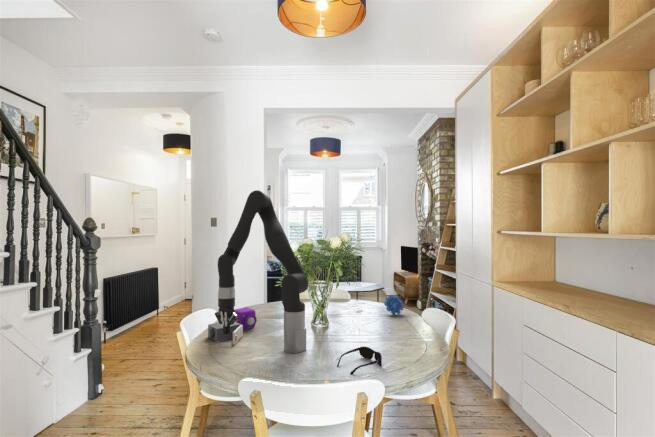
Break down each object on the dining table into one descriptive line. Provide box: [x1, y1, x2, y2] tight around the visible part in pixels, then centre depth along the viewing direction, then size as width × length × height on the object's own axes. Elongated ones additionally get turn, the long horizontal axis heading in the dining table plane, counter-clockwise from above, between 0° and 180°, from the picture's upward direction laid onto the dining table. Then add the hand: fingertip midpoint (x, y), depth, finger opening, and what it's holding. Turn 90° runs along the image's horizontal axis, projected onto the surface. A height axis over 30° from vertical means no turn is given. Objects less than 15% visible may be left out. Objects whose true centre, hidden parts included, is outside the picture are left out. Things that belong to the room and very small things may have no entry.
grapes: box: [383, 294, 404, 315], centre depth 209 cm, size 12×7×12 cm, turn 89°
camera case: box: [207, 322, 241, 343], centre depth 169 cm, size 10×13×7 cm
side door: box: [232, 325, 244, 345], centre depth 164 cm, size 2×12×5 cm, turn 177°
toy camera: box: [234, 306, 257, 330], centre depth 184 cm, size 11×14×10 cm
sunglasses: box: [336, 346, 383, 375], centre depth 135 cm, size 14×16×5 cm
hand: (226, 333), depth 161 cm, fingers closed
